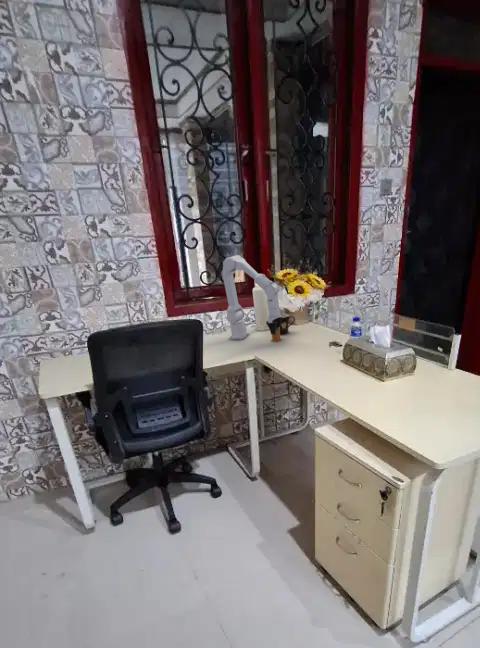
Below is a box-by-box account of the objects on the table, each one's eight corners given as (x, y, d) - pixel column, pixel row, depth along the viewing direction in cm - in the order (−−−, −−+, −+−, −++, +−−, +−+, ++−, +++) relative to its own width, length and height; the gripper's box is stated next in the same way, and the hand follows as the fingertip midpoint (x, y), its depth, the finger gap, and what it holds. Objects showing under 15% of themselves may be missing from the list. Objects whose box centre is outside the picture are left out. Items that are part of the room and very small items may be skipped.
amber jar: (273, 338, 231) (272, 325, 227) (281, 338, 229) (280, 325, 225) (271, 341, 227) (269, 327, 223) (279, 341, 225) (278, 328, 222)
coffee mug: (274, 335, 235) (272, 318, 231) (276, 331, 243) (274, 314, 238) (294, 334, 234) (293, 317, 229) (295, 330, 241) (294, 313, 236)
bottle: (270, 326, 253) (266, 278, 239) (268, 330, 246) (264, 281, 232) (257, 326, 254) (252, 279, 241) (255, 330, 247) (250, 282, 234)
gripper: (276, 310, 212) (278, 336, 219) (284, 303, 224) (286, 328, 231) (263, 310, 214) (265, 336, 221) (272, 303, 226) (274, 328, 233)
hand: (275, 332), depth 226 cm, fingers open, 7 cm apart
